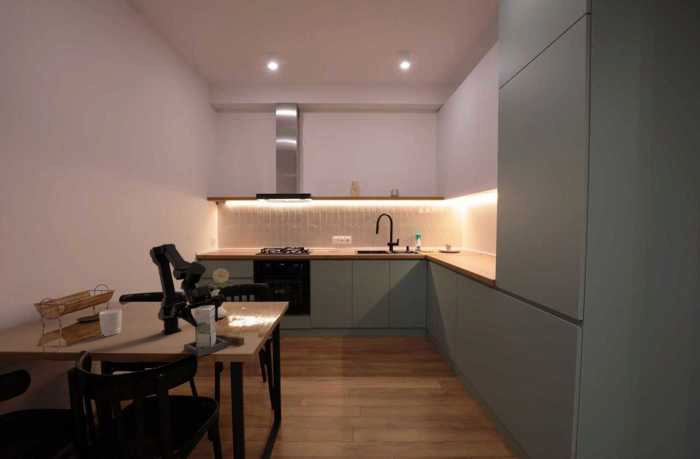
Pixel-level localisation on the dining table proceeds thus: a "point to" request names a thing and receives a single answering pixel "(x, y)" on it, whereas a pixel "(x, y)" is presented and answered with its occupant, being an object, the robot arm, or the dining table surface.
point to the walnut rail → (231, 338)
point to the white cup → (111, 321)
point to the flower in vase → (220, 277)
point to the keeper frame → (191, 348)
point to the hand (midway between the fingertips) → (206, 323)
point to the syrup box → (205, 326)
